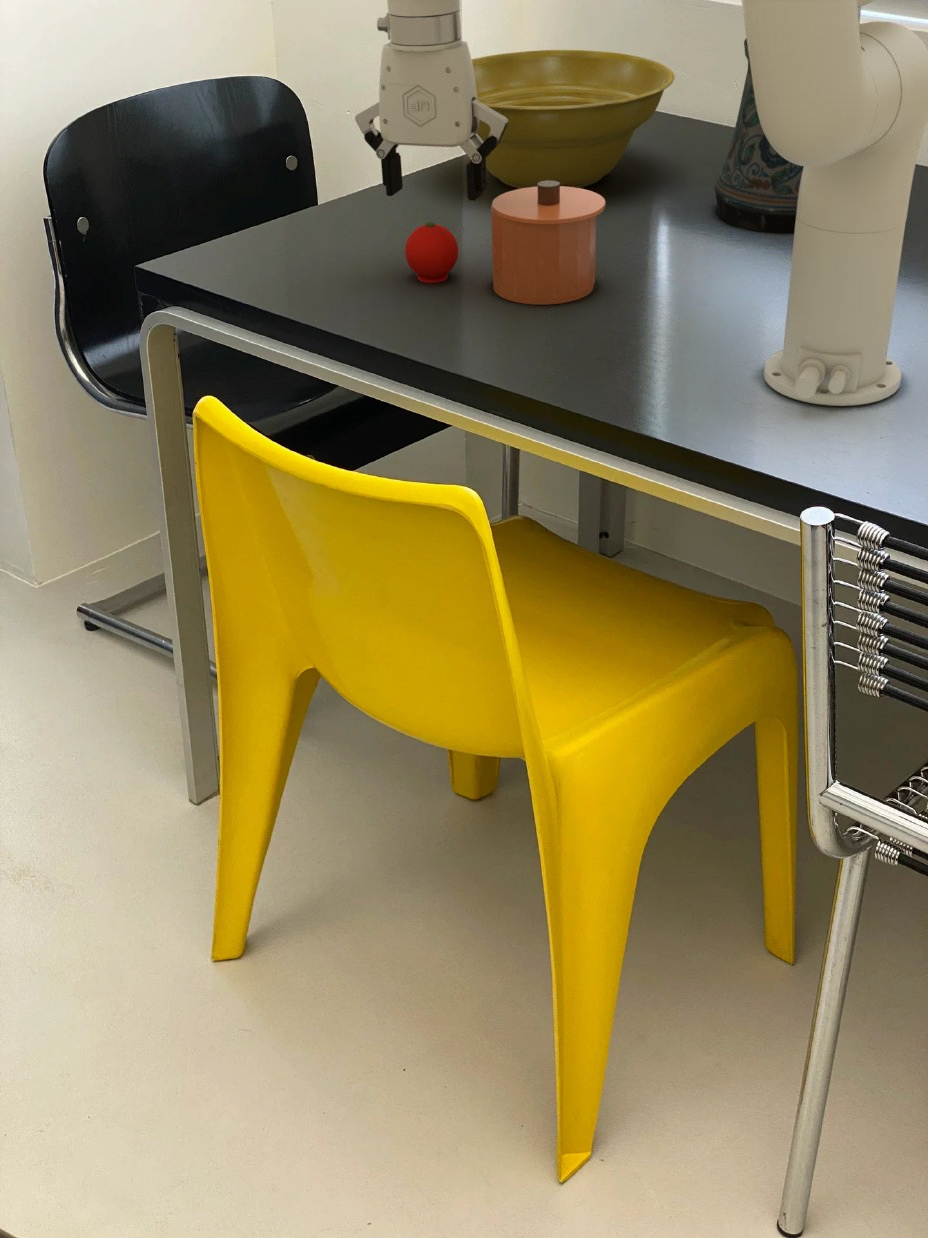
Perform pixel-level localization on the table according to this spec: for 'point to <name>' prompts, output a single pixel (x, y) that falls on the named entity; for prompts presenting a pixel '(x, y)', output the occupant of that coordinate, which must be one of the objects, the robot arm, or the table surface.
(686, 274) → the table surface
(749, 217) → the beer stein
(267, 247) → the table surface
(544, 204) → the pot lid
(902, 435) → the table surface
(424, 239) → the tomato
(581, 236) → the pot
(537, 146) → the planter bowl
